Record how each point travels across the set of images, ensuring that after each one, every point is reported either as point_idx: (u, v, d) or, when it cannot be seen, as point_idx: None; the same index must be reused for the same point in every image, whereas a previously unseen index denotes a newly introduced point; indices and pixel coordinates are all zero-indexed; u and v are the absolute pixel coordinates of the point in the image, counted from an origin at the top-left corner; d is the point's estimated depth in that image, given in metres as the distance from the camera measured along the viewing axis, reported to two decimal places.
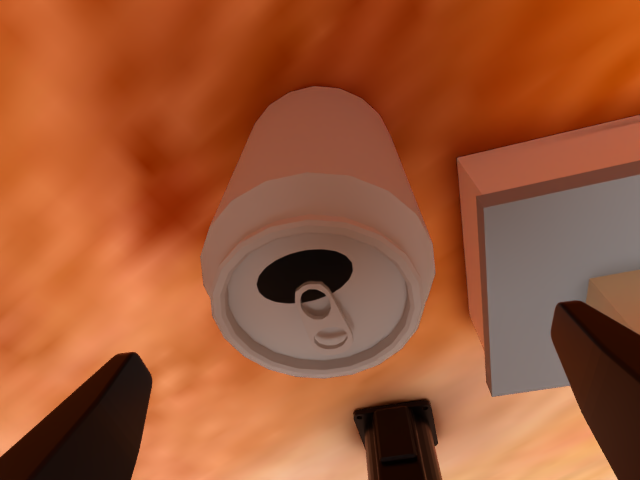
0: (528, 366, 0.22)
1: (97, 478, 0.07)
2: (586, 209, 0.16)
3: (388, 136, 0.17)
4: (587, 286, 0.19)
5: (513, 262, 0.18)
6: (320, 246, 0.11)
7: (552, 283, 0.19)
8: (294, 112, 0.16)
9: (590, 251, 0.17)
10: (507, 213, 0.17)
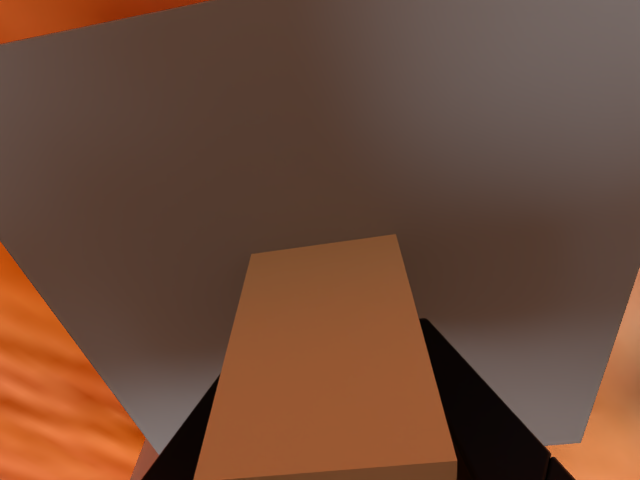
0: None
1: None
2: (158, 402, 0.11)
3: None
4: None
5: None
6: None
7: None
8: None
9: None
10: None
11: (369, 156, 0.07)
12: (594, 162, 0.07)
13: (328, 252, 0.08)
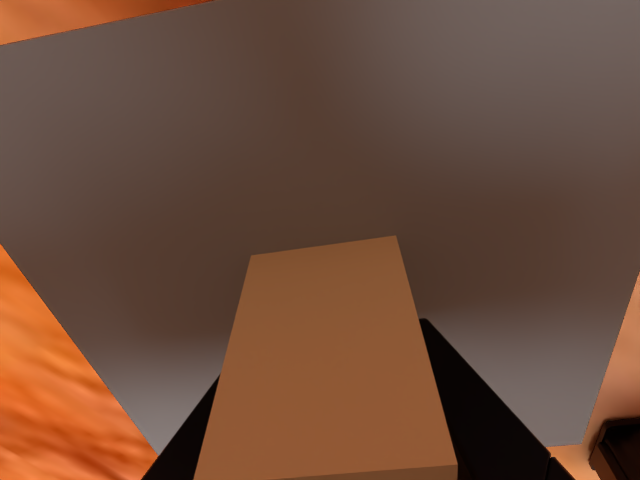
0: None
1: None
2: (158, 403, 0.11)
3: None
4: None
5: None
6: None
7: None
8: None
9: None
10: None
11: (369, 157, 0.07)
12: (595, 163, 0.07)
13: (328, 253, 0.08)
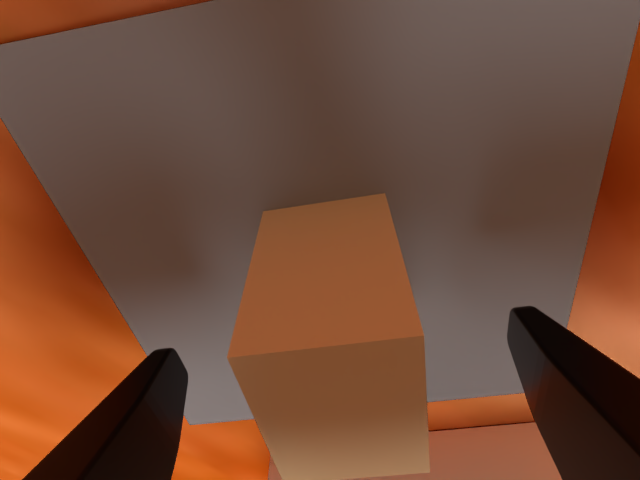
0: (486, 359, 0.13)
1: (142, 474, 0.07)
2: (179, 351, 0.13)
3: None
4: None
5: None
6: None
7: None
8: None
9: None
10: (195, 408, 0.15)
11: (362, 125, 0.09)
12: (547, 129, 0.09)
13: (328, 208, 0.10)
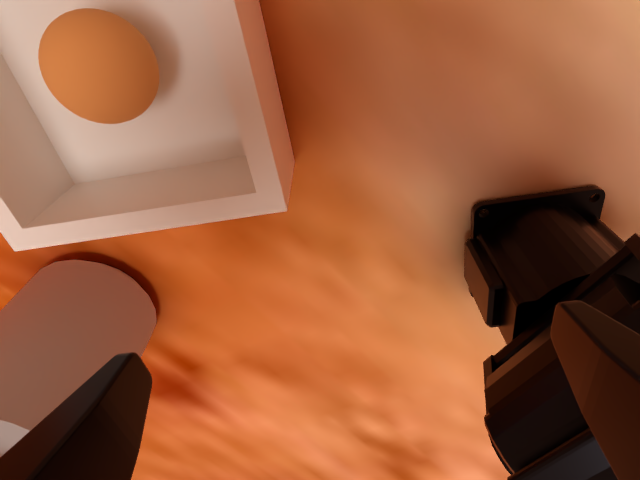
0: None
1: (97, 478, 0.07)
2: None
3: (17, 295, 0.21)
4: None
5: None
6: None
7: None
8: None
9: None
10: None
11: None
12: None
13: None
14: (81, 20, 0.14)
